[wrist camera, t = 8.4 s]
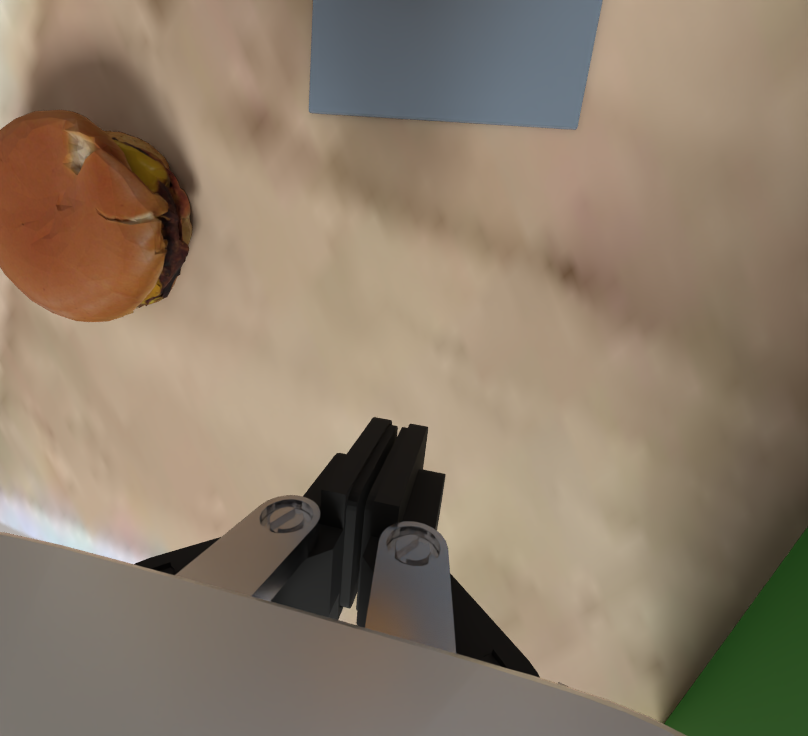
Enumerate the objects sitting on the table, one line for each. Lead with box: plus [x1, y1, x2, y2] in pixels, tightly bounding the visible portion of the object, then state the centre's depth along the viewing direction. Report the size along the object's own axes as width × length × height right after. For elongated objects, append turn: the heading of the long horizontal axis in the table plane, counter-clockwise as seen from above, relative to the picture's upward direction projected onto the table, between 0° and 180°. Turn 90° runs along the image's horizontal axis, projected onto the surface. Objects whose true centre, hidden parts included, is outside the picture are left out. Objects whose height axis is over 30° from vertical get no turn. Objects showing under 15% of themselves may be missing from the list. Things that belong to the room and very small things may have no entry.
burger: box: [0, 110, 192, 322], centre depth 19 cm, size 10×9×5 cm
